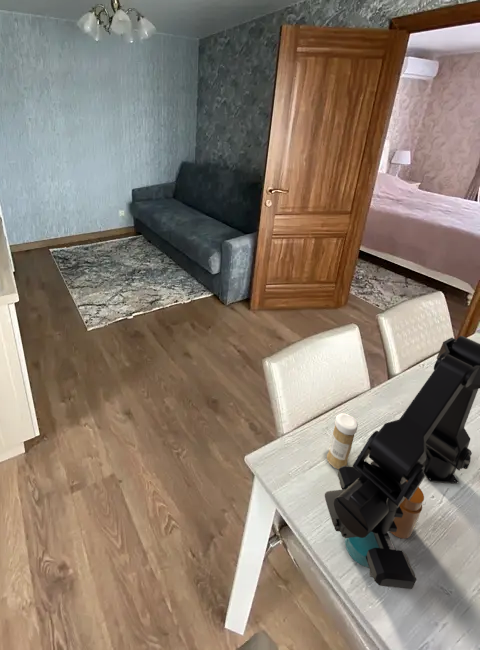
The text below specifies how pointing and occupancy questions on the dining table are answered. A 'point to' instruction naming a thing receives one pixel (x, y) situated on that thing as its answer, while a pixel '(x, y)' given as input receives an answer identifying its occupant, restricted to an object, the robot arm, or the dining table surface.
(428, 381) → the robot arm
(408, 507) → the jar
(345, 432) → the sprinkles bottle
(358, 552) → the lid
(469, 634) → the dining table surface
